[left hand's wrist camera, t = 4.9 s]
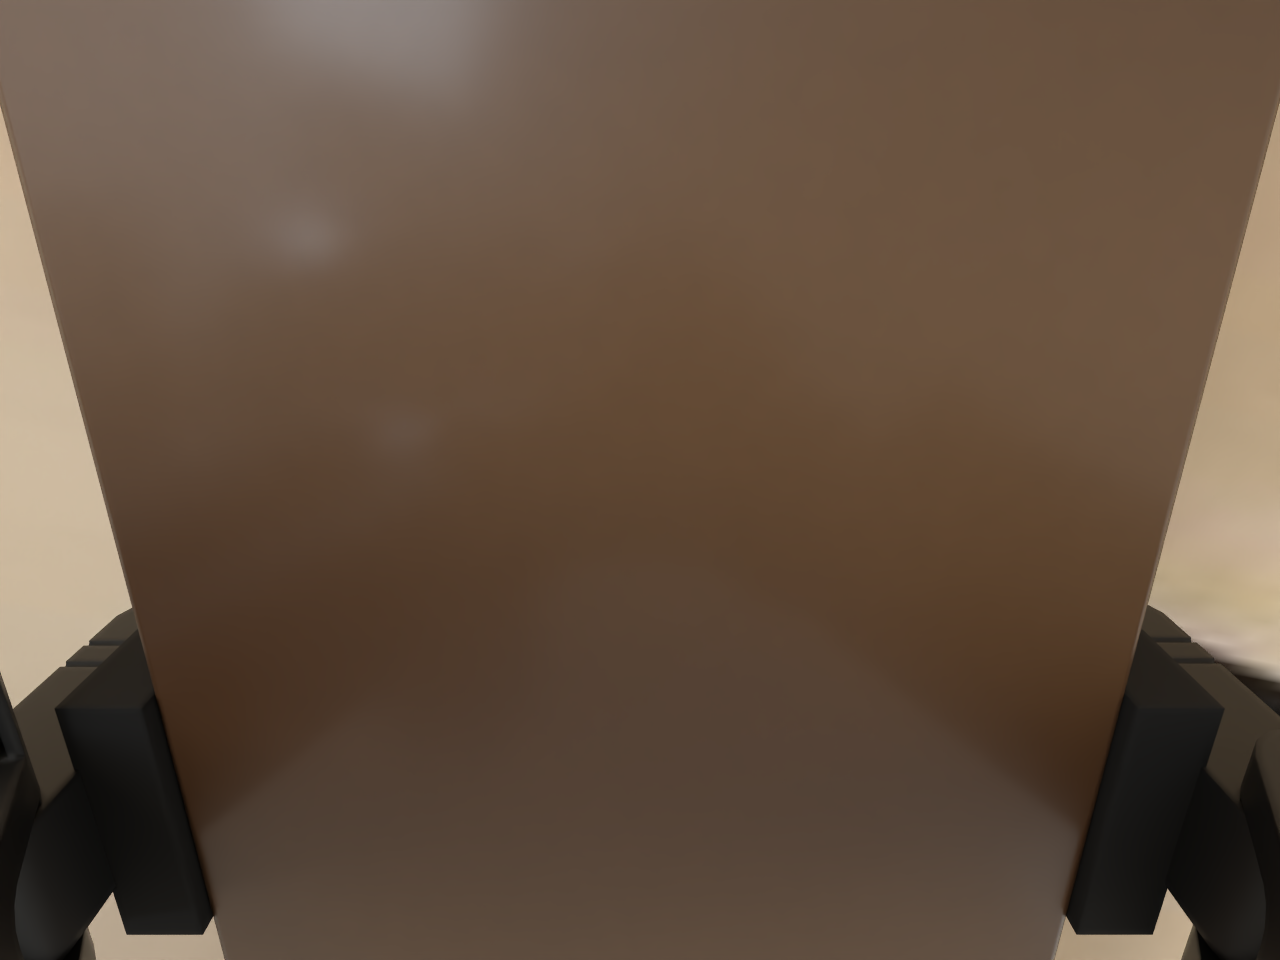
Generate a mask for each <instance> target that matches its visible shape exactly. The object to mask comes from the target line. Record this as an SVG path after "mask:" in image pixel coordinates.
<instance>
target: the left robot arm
mask: <svg viewBox="0 0 1280 960" xmlns="http://www.w3.org/2000/svg"><path fill="white" fill-rule="evenodd" d="M1167 888H1168V890H1169V891H1170V892H1171V894H1172V895H1173V897H1174V898H1175V899H1176V901H1177V902H1178V904H1179V905H1180V906H1181V908H1182V909H1183V911H1184V912H1185V913H1186V915H1187V916H1188V918H1189V919H1190V920H1191V922H1192V923H1193V927H1192V930H1191V933H1190V935H1189V938H1188V941H1187V944H1186V947H1185V950H1184V953H1183V956H1182V959H1181V960H1280V716H1278V715H1277V714H1276V713H1275V712H1274V711H1273V710H1272V709H1271V708H1269V707H1268V706H1267V705H1266V704H1265V703H1264V702H1263V701H1262V700H1260V699H1259V698H1258V697H1257V696H1256V695H1255V694H1254V693H1253V692H1251V691H1250V690H1249V689H1248V688H1247V687H1246V686H1245V685H1244V684H1242V683H1241V682H1240V681H1239V680H1238V679H1237V678H1236V677H1235V676H1233V675H1232V674H1231V673H1230V672H1229V671H1228V670H1227V669H1226V668H1224V667H1223V666H1222V665H1221V664H1215V663H1214V658H1213V657H1212V656H1211V655H1210V654H1209V653H1208V652H1206V651H1205V650H1204V649H1203V648H1202V647H1201V646H1200V645H1199V644H1197V643H1192V642H1191V637H1190V636H1188V635H1187V634H1186V633H1185V632H1184V631H1183V630H1182V629H1181V628H1179V627H1178V626H1177V625H1176V624H1175V623H1174V622H1173V621H1172V620H1170V619H1169V618H1168V617H1167V616H1166V615H1165V614H1164V613H1162V612H1160V611H1158V610H1157V609H1155V608H1153V607H1151V606H1149V605H1147V609H1146V612H1145V616H1144V620H1143V624H1142V628H1141V631H1140V635H1139V639H1138V643H1137V647H1136V650H1135V654H1134V658H1133V662H1132V666H1131V669H1130V673H1129V677H1128V681H1127V685H1126V689H1125V692H1124V696H1123V700H1122V704H1121V708H1120V711H1119V715H1118V719H1117V723H1116V727H1115V730H1114V734H1113V738H1112V742H1111V746H1110V749H1109V753H1108V757H1107V761H1106V765H1105V768H1104V772H1103V776H1102V780H1101V784H1100V788H1099V791H1098V795H1097V799H1096V803H1095V807H1094V810H1093V814H1092V818H1091V822H1090V826H1089V829H1088V833H1087V837H1086V841H1085V845H1084V848H1083V852H1082V856H1081V860H1080V864H1079V867H1078V871H1077V875H1076V879H1075V883H1074V887H1073V890H1072V894H1071V898H1070V902H1069V906H1068V909H1067V913H1066V916H1067V918H1068V920H1069V922H1070V924H1071V925H1072V927H1073V929H1074V931H1075V933H1076V934H1077V935H1153V932H1154V929H1155V926H1156V923H1157V919H1158V916H1159V913H1160V910H1161V907H1162V904H1163V901H1164V898H1165V894H1166V891H1167ZM112 892H113V893H114V896H115V900H116V903H117V906H118V909H119V912H120V915H121V918H122V921H123V925H124V928H125V931H126V934H127V935H203V934H204V932H205V930H206V928H207V926H208V924H209V923H210V921H211V919H212V917H213V912H212V908H211V905H210V901H209V897H208V893H207V889H206V886H205V882H204V878H203V874H202V870H201V867H200V863H199V859H198V855H197V851H196V848H195V844H194V840H193V836H192V832H191V829H190V825H189V821H188V817H187V813H186V810H185V806H184V802H183V798H182V794H181V790H180V787H179V783H178V779H177V775H176V771H175V768H174V764H173V760H172V756H171V752H170V749H169V745H168V741H167V737H166V733H165V730H164V726H163V722H162V718H161V714H160V711H159V707H158V703H157V699H156V695H155V692H154V688H153V684H152V680H151V676H150V672H149V669H148V665H147V661H146V657H145V653H144V650H143V646H142V642H141V638H140V634H139V631H138V627H137V623H136V619H135V615H134V612H133V608H131V609H129V610H127V611H125V612H124V613H122V614H120V615H118V616H116V617H115V618H114V619H113V620H112V621H111V622H110V623H109V624H107V625H106V626H105V627H104V628H103V629H102V630H101V631H100V632H99V633H97V634H96V635H95V636H94V637H93V638H92V639H91V640H90V641H89V646H83V647H82V648H81V649H80V650H78V651H77V652H76V653H75V654H74V655H73V656H72V657H71V658H70V659H68V660H67V661H66V667H59V668H58V669H57V670H56V671H55V672H54V673H53V674H52V675H51V676H49V677H48V678H47V679H46V680H45V681H44V682H43V683H42V684H41V685H39V686H38V687H37V688H36V689H35V690H34V691H33V692H32V693H30V694H29V695H28V696H27V697H26V698H25V699H24V700H23V701H22V702H20V703H19V704H18V705H17V706H16V707H15V708H14V709H13V708H12V705H11V702H10V699H9V696H8V693H7V690H6V688H5V685H4V682H3V679H2V676H1V673H0V960H96V957H95V950H94V944H93V941H92V938H91V935H90V933H89V930H88V926H89V924H90V923H91V922H92V920H93V919H94V917H95V916H96V915H97V913H98V912H99V910H100V909H101V907H102V906H103V905H104V903H105V902H106V900H107V899H108V898H109V896H110V895H111V893H112Z"/></svg>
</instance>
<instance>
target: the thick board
mask: <svg viewBox="0 0 1280 960" xmlns="http://www.w3.org/2000/svg"><path fill="white" fill-rule="evenodd" d="M1279 102H1280V0H0V105H1V109H2V113H3V117H4V121H5V124H6V128H7V132H8V136H9V140H10V143H11V147H12V151H13V155H14V159H15V162H16V166H17V170H18V174H19V178H20V181H21V185H22V189H23V193H24V197H25V200H26V204H27V208H28V212H29V216H30V220H31V223H32V227H33V231H34V235H35V239H36V242H37V246H38V250H39V254H40V258H41V261H42V265H43V269H44V273H45V277H46V280H47V284H48V288H49V292H50V296H51V299H52V303H53V307H54V311H55V315H56V318H57V322H58V326H59V330H60V334H61V338H62V341H63V345H64V349H65V353H66V357H67V360H68V364H69V368H70V372H71V376H72V379H73V383H74V387H75V391H76V395H77V398H78V402H79V406H80V410H81V414H82V417H83V421H84V425H85V429H86V433H87V436H88V440H89V444H90V448H91V452H92V456H93V459H94V463H95V467H96V471H97V475H98V478H99V482H100V486H101V490H102V494H103V497H104V501H105V505H106V509H107V513H108V516H109V520H110V524H111V528H112V532H113V535H114V539H115V543H116V547H117V551H118V554H119V558H120V562H121V566H122V570H123V574H124V577H125V581H126V585H127V589H128V593H129V596H130V600H131V604H132V608H133V612H134V615H135V619H136V623H137V627H138V631H139V634H140V638H141V642H142V646H143V650H144V653H145V657H146V661H147V665H148V669H149V672H150V676H151V680H152V684H153V688H154V692H155V695H156V699H157V703H158V707H159V711H160V714H161V718H162V722H163V726H164V730H165V733H166V737H167V741H168V745H169V749H170V752H171V756H172V760H173V764H174V768H175V771H176V775H177V779H178V783H179V787H180V790H181V794H182V798H183V802H184V806H185V810H186V813H187V817H188V821H189V825H190V829H191V832H192V836H193V840H194V844H195V848H196V851H197V855H198V859H199V863H200V867H201V870H202V874H203V878H204V882H205V886H206V889H207V893H208V897H209V901H210V905H211V908H212V912H213V916H214V920H215V924H216V928H217V931H218V935H219V939H220V943H221V947H222V950H223V954H224V958H225V960H1054V959H1055V955H1056V951H1057V947H1058V944H1059V940H1060V936H1061V932H1062V928H1063V925H1064V921H1065V917H1066V913H1067V909H1068V906H1069V902H1070V898H1071V894H1072V890H1073V887H1074V883H1075V879H1076V875H1077V871H1078V867H1079V864H1080V860H1081V856H1082V852H1083V848H1084V845H1085V841H1086V837H1087V833H1088V829H1089V826H1090V822H1091V818H1092V814H1093V810H1094V807H1095V803H1096V799H1097V795H1098V791H1099V788H1100V784H1101V780H1102V776H1103V772H1104V768H1105V765H1106V761H1107V757H1108V753H1109V749H1110V746H1111V742H1112V738H1113V734H1114V730H1115V727H1116V723H1117V719H1118V715H1119V711H1120V708H1121V704H1122V700H1123V696H1124V692H1125V689H1126V685H1127V681H1128V677H1129V673H1130V669H1131V666H1132V662H1133V658H1134V654H1135V650H1136V647H1137V643H1138V639H1139V635H1140V631H1141V628H1142V624H1143V620H1144V616H1145V612H1146V609H1147V605H1148V601H1149V597H1150V593H1151V590H1152V586H1153V582H1154V578H1155V574H1156V570H1157V567H1158V563H1159V559H1160V555H1161V551H1162V548H1163V544H1164V540H1165V536H1166V532H1167V529H1168V525H1169V521H1170V517H1171V513H1172V510H1173V506H1174V502H1175V498H1176V494H1177V491H1178V487H1179V483H1180V479H1181V475H1182V471H1183V468H1184V464H1185V460H1186V456H1187V452H1188V449H1189V445H1190V441H1191V437H1192V433H1193V430H1194V426H1195V422H1196V418H1197V414H1198V411H1199V407H1200V403H1201V399H1202V395H1203V392H1204V388H1205V384H1206V380H1207V376H1208V373H1209V369H1210V365H1211V361H1212V357H1213V353H1214V350H1215V346H1216V342H1217V338H1218V334H1219V331H1220V327H1221V323H1222V319H1223V315H1224V312H1225V308H1226V304H1227V300H1228V296H1229V293H1230V289H1231V285H1232V281H1233V277H1234V274H1235V270H1236V266H1237V262H1238V258H1239V254H1240V251H1241V247H1242V243H1243V239H1244V235H1245V232H1246V228H1247V224H1248V220H1249V216H1250V213H1251V209H1252V205H1253V201H1254V197H1255V194H1256V190H1257V186H1258V182H1259V178H1260V175H1261V171H1262V167H1263V163H1264V159H1265V155H1266V152H1267V148H1268V144H1269V140H1270V136H1271V133H1272V129H1273V125H1274V121H1275V117H1276V114H1277V110H1278V106H1279Z"/></svg>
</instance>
